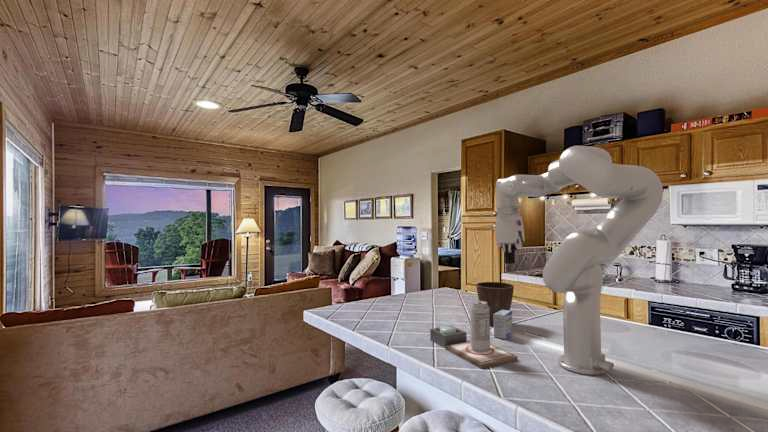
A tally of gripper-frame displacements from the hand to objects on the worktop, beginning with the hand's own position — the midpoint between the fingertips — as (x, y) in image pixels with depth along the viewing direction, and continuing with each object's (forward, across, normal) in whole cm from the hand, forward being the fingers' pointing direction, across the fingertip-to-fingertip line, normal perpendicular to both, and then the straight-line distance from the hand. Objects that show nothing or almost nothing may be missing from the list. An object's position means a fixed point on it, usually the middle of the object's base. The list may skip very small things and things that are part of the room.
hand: (509, 263), depth 131 cm
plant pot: (+27, +17, -9) cm, 33 cm away
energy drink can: (+26, -5, +20) cm, 33 cm away
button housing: (+27, +9, +21) cm, 36 cm away
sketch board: (+27, -5, +20) cm, 34 cm away
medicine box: (+27, +5, 0) cm, 28 cm away
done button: (+25, +9, +21) cm, 34 cm away
